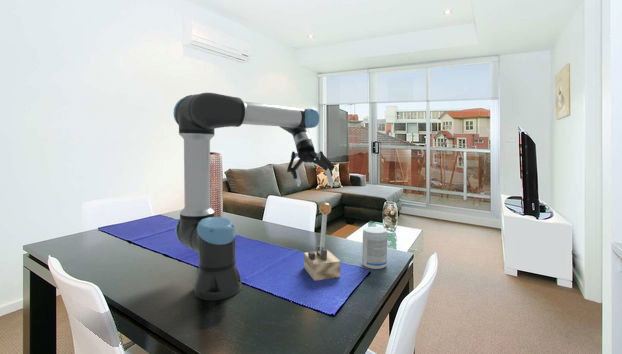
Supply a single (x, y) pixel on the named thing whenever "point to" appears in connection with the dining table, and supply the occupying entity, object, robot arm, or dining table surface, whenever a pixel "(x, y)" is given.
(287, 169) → the robot arm
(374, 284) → the dining table surface
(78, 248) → the dining table surface
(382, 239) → the supplement tub
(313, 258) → the block with knobs
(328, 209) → the press lever
